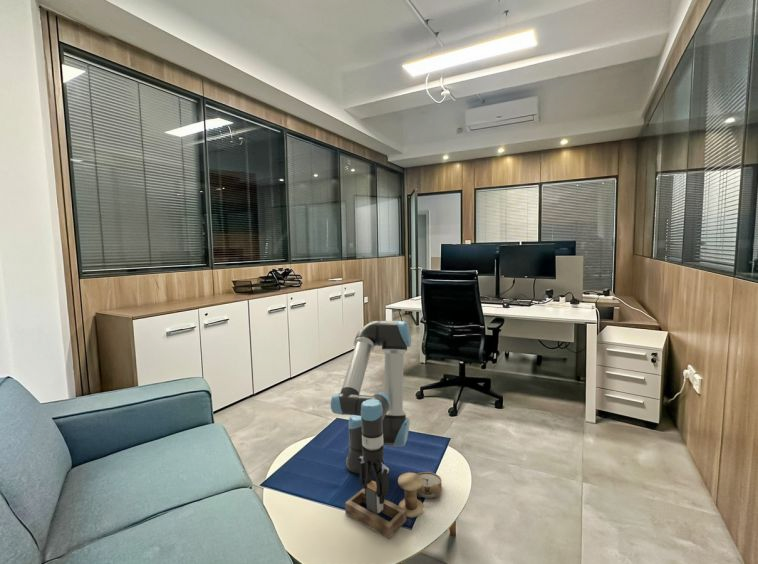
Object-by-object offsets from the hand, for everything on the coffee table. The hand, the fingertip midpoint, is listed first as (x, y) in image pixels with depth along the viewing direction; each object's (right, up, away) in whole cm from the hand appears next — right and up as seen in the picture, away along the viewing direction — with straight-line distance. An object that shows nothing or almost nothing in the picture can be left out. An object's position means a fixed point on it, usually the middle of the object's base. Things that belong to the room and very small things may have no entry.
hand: (375, 508), depth 128 cm
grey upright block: (0, 0, 0) cm, 0 cm away
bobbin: (+13, -3, +4) cm, 14 cm away
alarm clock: (+21, -2, +14) cm, 25 cm away
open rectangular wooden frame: (0, -3, 0) cm, 3 cm away
